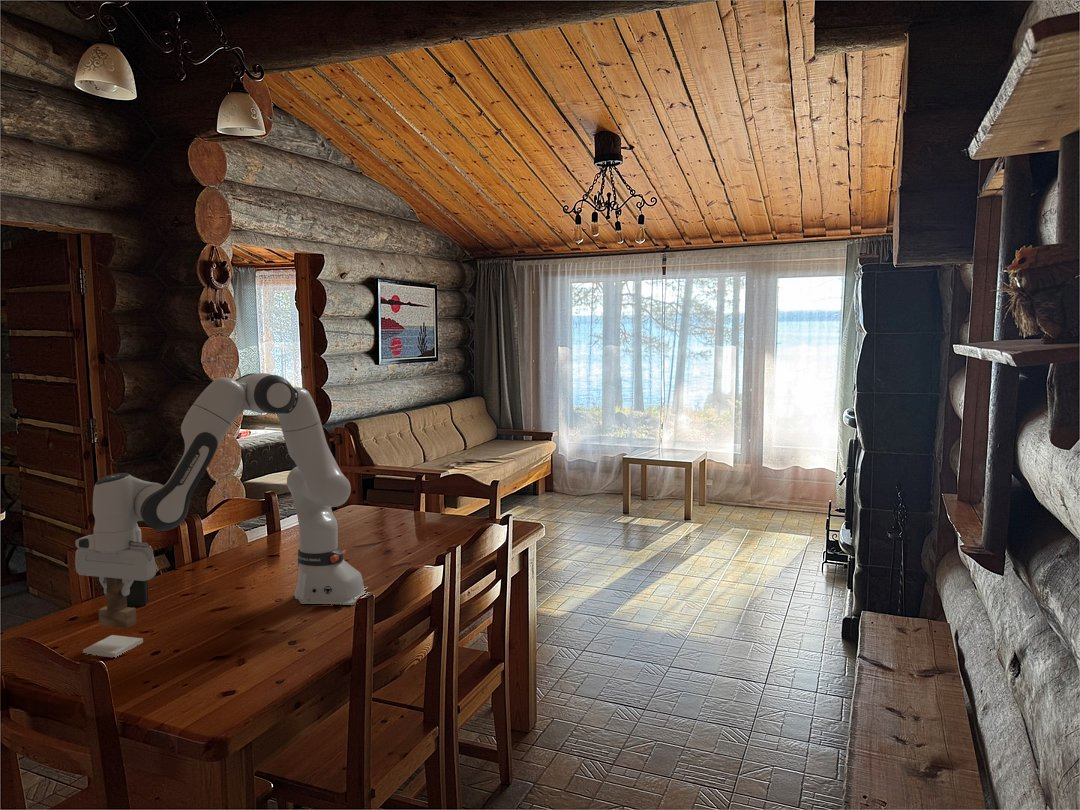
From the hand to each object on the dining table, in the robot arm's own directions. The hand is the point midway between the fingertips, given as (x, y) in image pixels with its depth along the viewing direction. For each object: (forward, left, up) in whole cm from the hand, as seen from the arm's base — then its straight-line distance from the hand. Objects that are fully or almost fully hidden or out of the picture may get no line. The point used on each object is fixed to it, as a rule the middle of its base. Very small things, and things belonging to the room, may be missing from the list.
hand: (116, 594), depth 177 cm
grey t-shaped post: (0, 0, -8) cm, 8 cm away
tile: (0, -3, -13) cm, 13 cm away
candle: (+16, -25, -13) cm, 33 cm away
